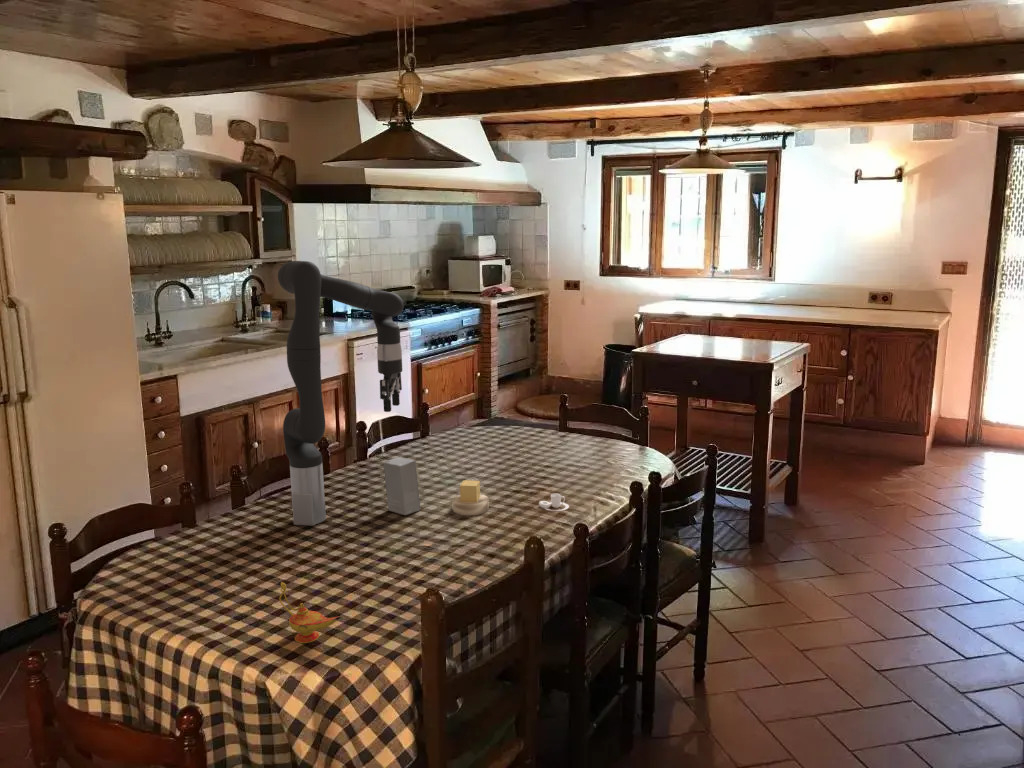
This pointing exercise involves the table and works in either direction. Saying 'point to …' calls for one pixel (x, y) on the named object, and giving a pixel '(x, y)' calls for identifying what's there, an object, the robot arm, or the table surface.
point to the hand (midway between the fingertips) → (391, 408)
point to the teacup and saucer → (554, 502)
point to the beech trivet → (470, 506)
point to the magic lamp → (307, 621)
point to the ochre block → (469, 491)
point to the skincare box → (401, 485)
